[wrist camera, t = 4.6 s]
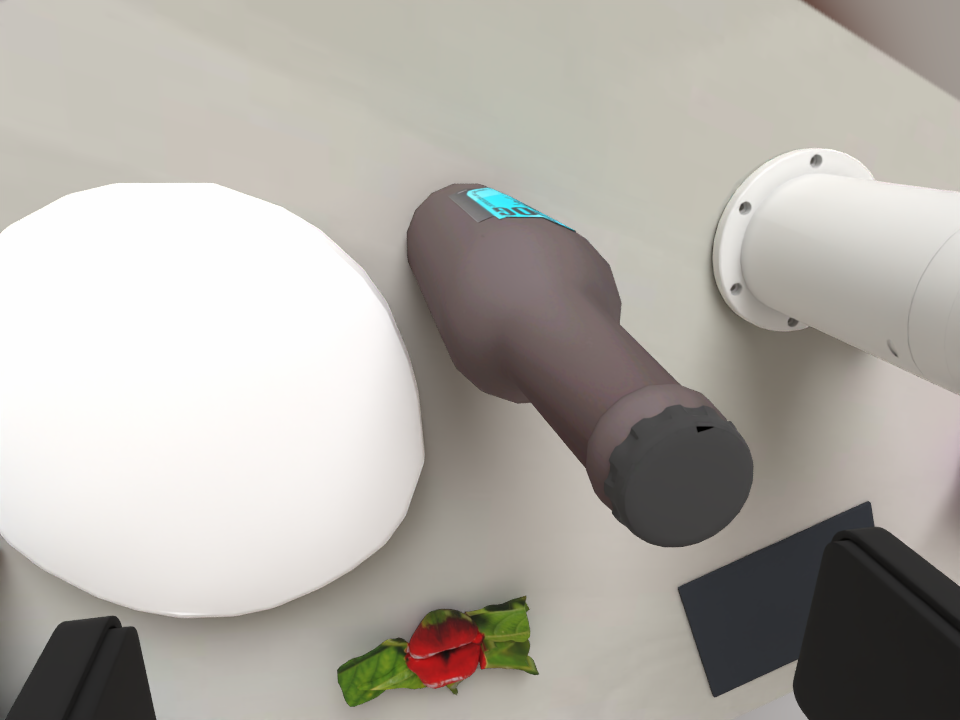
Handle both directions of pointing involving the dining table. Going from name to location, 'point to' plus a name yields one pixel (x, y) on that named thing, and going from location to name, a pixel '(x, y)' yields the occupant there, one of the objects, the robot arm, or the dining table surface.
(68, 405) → the plate
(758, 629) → the mat
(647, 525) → the beer bottle
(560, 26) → the dining table surface
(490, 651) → the decorative ornament
